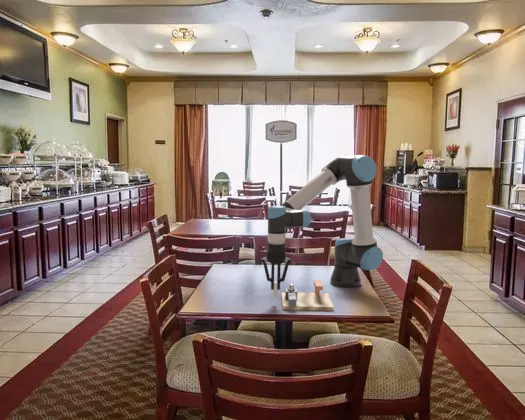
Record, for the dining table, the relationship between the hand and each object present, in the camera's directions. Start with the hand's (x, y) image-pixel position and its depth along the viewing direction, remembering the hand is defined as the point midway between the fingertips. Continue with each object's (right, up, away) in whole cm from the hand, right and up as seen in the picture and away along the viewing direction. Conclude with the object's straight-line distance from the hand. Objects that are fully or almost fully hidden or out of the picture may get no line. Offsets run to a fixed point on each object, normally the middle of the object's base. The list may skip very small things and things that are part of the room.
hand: (275, 297), depth 198 cm
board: (+14, -3, +3) cm, 14 cm away
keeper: (+19, -1, +7) cm, 20 cm away
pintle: (+7, -1, +6) cm, 9 cm away
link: (+7, -2, +1) cm, 7 cm away
